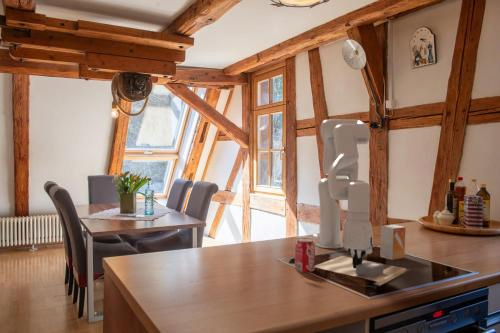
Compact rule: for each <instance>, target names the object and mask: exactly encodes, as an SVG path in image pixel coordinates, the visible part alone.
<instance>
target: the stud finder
mask: <svg viewBox="0 0 500 333" xmlns="http://www.w3.org/2000/svg"><path fill="white" fill-rule="evenodd" d="M366 261H367V262H364V263H362V264H359V265H356V274H358V275H362V276H366V277H370V278H373V277H375V276H378V275H380V274H382V273H383V264H384V263H381V264H378V263H379V262H376V263H373V262H374V261H371V262H369V261H370V260H366Z"/></svg>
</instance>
